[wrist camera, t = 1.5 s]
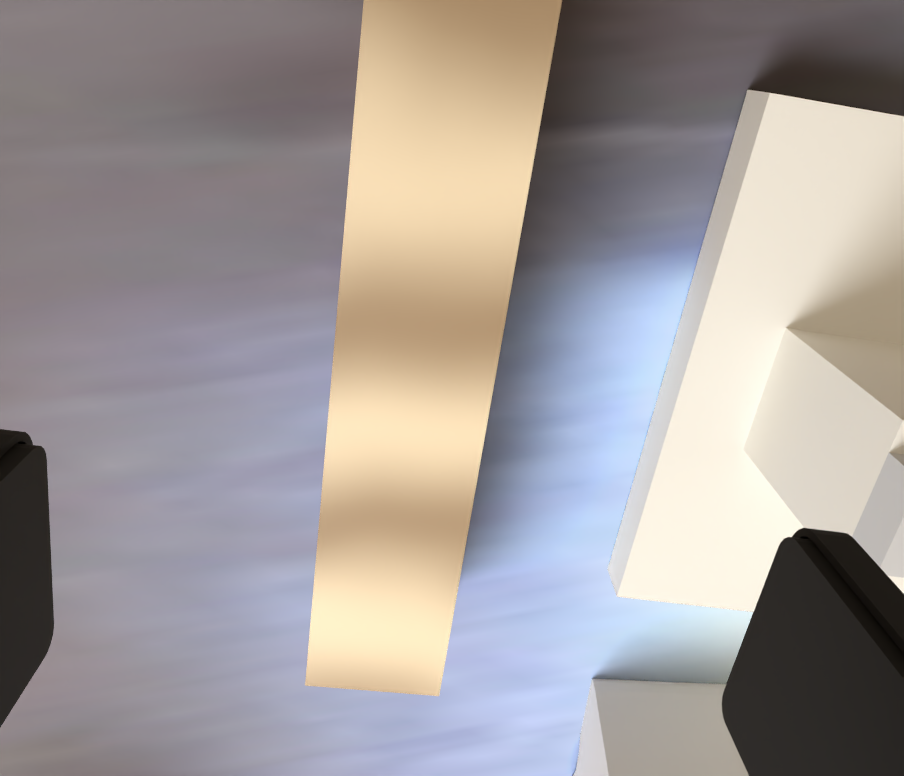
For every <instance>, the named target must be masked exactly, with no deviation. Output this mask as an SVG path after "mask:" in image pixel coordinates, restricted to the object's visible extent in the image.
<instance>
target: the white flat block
mask: <svg viewBox="0 0 904 776" xmlns="http://www.w3.org/2000/svg"><path fill="white" fill-rule="evenodd" d="M725 686H726V684H711V683H685V682H658V681H637V680H613V679H592V680H591V685H590V690H589V695H588V700H587V704H586V709H585V714H584V719H583V724H582V728H581V733H580V745H579V754H578V760H577V766H576V771H575V773H574V775H573V776H749V775H748V772H747V770H746V768H745V766H744V764H743V761H742V759H741V757H740V755H739V753H738V750H737V748H736V746H735V744H734V742H733V740H732V737H731V735H730V733H729V731H728V729H727V726H726V724H725V721H724V718H723V713H722V696H723V692H724V689H725Z"/></svg>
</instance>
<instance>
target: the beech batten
mask: <svg viewBox="0 0 904 776" xmlns="http://www.w3.org/2000/svg"><path fill="white" fill-rule="evenodd" d="M561 4H562V0H364V5H363V16H362V28H361V40H360V51H359V63H358V75H357V86H356V98H355V110H354V121H353V133H352V145H351V156H350V168H349V180H348V192H347V203H346V215H345V227H344V238H343V250H342V262H341V273H340V285H339V297H338V308H337V320H336V332H335V343H334V355H333V367H332V378H331V390H330V402H329V414H328V425H327V437H326V449H325V460H324V472H323V484H322V495H321V507H320V519H319V530H318V542H317V554H316V565H315V577H314V589H313V601H312V612H311V624H310V636H309V647H308V659H307V671H306V682H305V685H306V686H319V687H332V688H344V689H357V690H370V691H382V692H395V693H407V694H420V695H433V696H439V693H440V687H441V682H442V676H443V670H444V665H445V659H446V653H447V648H448V642H449V637H450V631H451V625H452V620H453V614H454V608H455V603H456V597H457V591H458V586H459V580H460V574H461V569H462V563H463V557H464V552H465V546H466V541H467V535H468V529H469V524H470V518H471V512H472V507H473V501H474V495H475V490H476V484H477V478H478V473H479V467H480V461H481V456H482V450H483V444H484V439H485V433H486V428H487V422H488V416H489V411H490V405H491V399H492V394H493V388H494V382H495V377H496V371H497V365H498V360H499V354H500V348H501V343H502V337H503V332H504V326H505V320H506V315H507V309H508V303H509V298H510V292H511V286H512V281H513V275H514V269H515V264H516V258H517V252H518V247H519V241H520V236H521V230H522V224H523V219H524V213H525V207H526V202H527V196H528V190H529V185H530V179H531V173H532V168H533V162H534V156H535V151H536V145H537V140H538V134H539V128H540V123H541V117H542V111H543V106H544V100H545V94H546V89H547V83H548V77H549V72H550V66H551V60H552V55H553V49H554V44H555V38H556V32H557V27H558V21H559V15H560V10H561Z"/></svg>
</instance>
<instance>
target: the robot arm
mask: <svg viewBox="0 0 904 776" xmlns="http://www.w3.org/2000/svg"><path fill="white" fill-rule="evenodd" d="M53 630H54V616H53V593H52V570H51V547H50V525H49V502H48V479H47V459H46V453H45V450H44V448H42V447H41V446H35V445H33V444H32V440H31V438H30V436H29V435H28V434H27V433H26V432H19V431H11V430H3V429H0V727H1V725H2V724H3V722H4V721H5V719H6V717H7V716H8V714H9V713H10V711H11V710H12V708H13V706H14V705H15V703H16V702H17V700H18V699H19V697H20V695H21V694H22V692H23V691H24V689H25V687H26V686H27V684H28V683H29V681H30V680H31V678H32V676H33V675H34V673H35V672H36V670H37V669H38V667H39V665H40V664H41V662H42V661H43V659H44V657H45V655H46V654H47V652H48V649H49V646H50V644H51V640H52V636H53ZM722 713H723V718H724V721H725V724H726V726H727V729H728V731H729V733H730V735H731V737H732V740H733V742H734V744H735V746H736V748H737V750H738V753H739V755H740V757H741V759H742V761H743V764H744V766H745V768H746V770H747V772H748V775H749V776H904V593H903V592H902V591H901V590H900V589H899V588H898V587H897V586H896V585H895V583H894V582H893V581H892V580H891V579H890V578H889V577H888V576H887V575H886V574H885V572H884V571H883V570H882V569H881V568H880V567H879V566H878V565H877V564H876V562H875V561H874V560H873V559H872V558H871V557H870V556H869V555H868V554H867V552H866V551H865V550H864V549H863V548H862V547H861V546H860V545H859V544H858V542H857V541H856V540H855V539H854V538H853V537H852V536H850V535H849V534H847V533H842V532H834V531H826V530H818V529H810V528H802V529H799V530H797V531H796V532H795V534H794V535H793V536H792V537H787V538H784V539H783V540H782V541H781V543H780V545H779V547H778V549H777V552H776V554H775V557H774V560H773V562H772V565H771V568H770V570H769V573H768V576H767V578H766V581H765V583H764V586H763V589H762V591H761V594H760V597H759V599H758V602H757V605H756V607H755V610H754V612H753V615H752V618H751V620H750V623H749V626H748V628H747V631H746V634H745V636H744V639H743V642H742V644H741V647H740V649H739V652H738V655H737V657H736V660H735V663H734V665H733V668H732V671H731V673H730V676H729V679H728V681H727V684H726V686H725V689H724V692H723V696H722Z"/></svg>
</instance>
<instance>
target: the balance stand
mask: <svg viewBox="0 0 904 776" xmlns="http://www.w3.org/2000/svg"><path fill="white" fill-rule="evenodd" d="M802 528H810V529H818V530H826V531H834V532H842V533H847V534H849V535H850V536H852V537H853V538H854V539H855V540H856V541H857V542H858V544H859V545H860V546H861V547H862V548H863V549H864V550H865V551H866V552H867V554H868V555H869V556H870V557H871V558H872V559H873V560H874V561H875V562H876V564H877V565H878V566H879V567H880V568H881V569H882V570H883V571H884V572H885V574H886V575H887V576H888V577H889V578H890V579H891V580H892V581H893V582H894V583H895V585H896V586H897V587H898V588H899V589H900V590H901V591H902V592H903V593H904V116H898V115H893V114H887V113H881V112H876V111H870V110H864V109H859V108H853V107H847V106H842V105H836V104H830V103H825V102H819V101H813V100H808V99H802V98H796V97H791V96H785V95H779V94H774V93H768V92H761V91H754V90H747V94H746V97H745V100H744V104H743V107H742V111H741V114H740V117H739V121H738V124H737V128H736V131H735V135H734V138H733V141H732V145H731V148H730V152H729V155H728V159H727V162H726V165H725V169H724V172H723V176H722V179H721V182H720V186H719V189H718V193H717V196H716V200H715V203H714V206H713V210H712V213H711V217H710V220H709V223H708V227H707V230H706V234H705V237H704V241H703V244H702V247H701V251H700V254H699V258H698V261H697V265H696V268H695V271H694V275H693V278H692V282H691V285H690V288H689V292H688V295H687V299H686V302H685V306H684V309H683V312H682V316H681V319H680V323H679V326H678V330H677V333H676V336H675V340H674V343H673V347H672V350H671V353H670V357H669V360H668V364H667V367H666V371H665V374H664V377H663V381H662V384H661V388H660V391H659V395H658V398H657V401H656V405H655V408H654V412H653V415H652V418H651V422H650V425H649V429H648V432H647V436H646V439H645V442H644V446H643V449H642V453H641V456H640V460H639V463H638V466H637V470H636V473H635V477H634V480H633V483H632V487H631V490H630V494H629V497H628V501H627V504H626V507H625V511H624V514H623V518H622V521H621V525H620V528H619V531H618V535H617V538H616V542H615V545H614V548H613V552H612V555H611V559H610V562H609V566H608V572H609V575H610V578H611V581H612V584H613V586H614V589H615V592H616V595H617V597H624V598H633V599H642V600H651V601H660V602H669V603H678V604H687V605H696V606H705V607H714V608H723V609H732V610H741V611H750V612H754V610H755V607H756V605H757V602H758V599H759V597H760V594H761V591H762V589H763V586H764V583H765V581H766V578H767V576H768V573H769V570H770V568H771V565H772V562H773V560H774V557H775V554H776V552H777V549H778V547H779V545H780V543H781V541H782V540H783V539H784V538H787V537H792V536H793V535H794V534H795V532H796V531H797V530H799V529H802Z"/></svg>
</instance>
